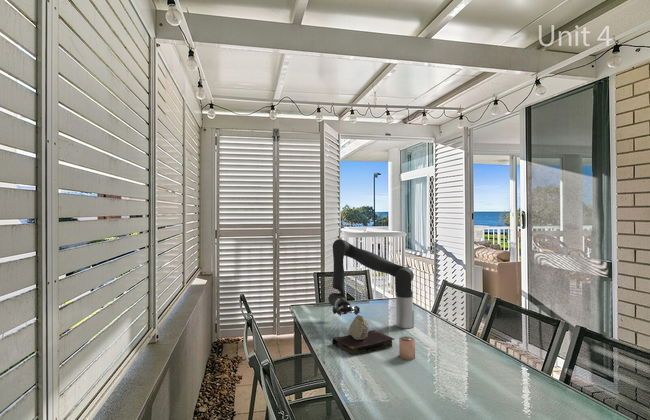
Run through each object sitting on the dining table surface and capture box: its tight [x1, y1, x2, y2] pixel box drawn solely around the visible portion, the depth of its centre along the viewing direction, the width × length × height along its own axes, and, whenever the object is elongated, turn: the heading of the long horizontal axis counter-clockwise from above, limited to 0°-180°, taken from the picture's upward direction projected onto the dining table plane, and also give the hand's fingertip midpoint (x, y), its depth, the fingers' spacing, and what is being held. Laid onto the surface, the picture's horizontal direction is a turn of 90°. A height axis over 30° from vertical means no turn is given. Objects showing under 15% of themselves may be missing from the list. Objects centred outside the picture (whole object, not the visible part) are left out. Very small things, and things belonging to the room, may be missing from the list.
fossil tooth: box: [348, 314, 369, 340], centre depth 184 cm, size 12×6×15 cm
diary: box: [331, 329, 395, 356], centre depth 183 cm, size 19×25×5 cm
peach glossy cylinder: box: [398, 335, 416, 361], centre depth 169 cm, size 7×7×8 cm
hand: (348, 313), depth 194 cm, fingers open, 8 cm apart
